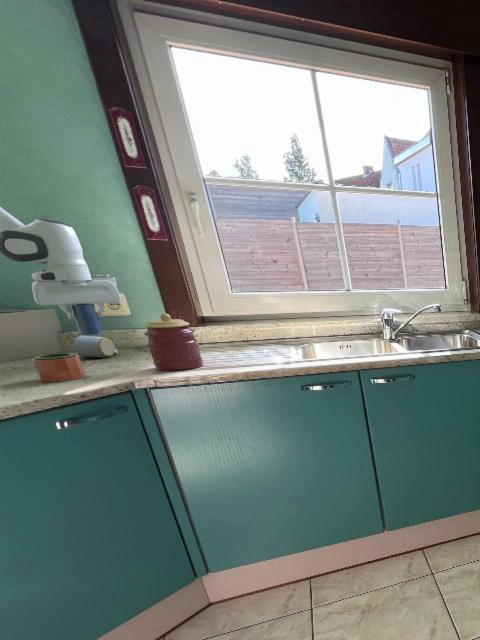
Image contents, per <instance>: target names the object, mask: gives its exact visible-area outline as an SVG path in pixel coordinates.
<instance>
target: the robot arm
mask: <svg viewBox="0 0 480 640" xmlns="http://www.w3.org/2000/svg"><path fill="white" fill-rule="evenodd" d="M0 254H2V255H3V256H4V257H6V258H7V259H9V260H11V261H13V262H18V263H24V264H36V263H37V264H47V265H48V267H49V268H46V269H42V270H38V271H35V272H32V273H31V278H32V279H33V280H34V281H33V282H32V283H31V291H32V297H33V300H34V302H35V304H37V305H39V306H59V308H60V309H61V310H62V311H63V312H64V313H65V314H66V315H67V318H68V319H69V320H75V319H76V317H75V314H74V313H73V312H70V311H69V310H67V309H68V306H70V305H73V304H95V305H96V306H97V307H99V308H98V311H96V313H97V316H98V319H99V318H104V313H103V312H104V310H105V308H106V306H105V304H120V303H121V302H122V296H121V294H120V292H119V290H118V281H117V279H116V278H115V277H114V276H112V275H109V274H105V273H104V274H97V273H96V274H91V271H90V269H89V266H88V263H87V262H86V260H85V258H84V251H83V248H82V245H81V242H80V240H79V237H78V235H77V233H76V231H75V230H74V228H73V227H72V226H71V225H69V224H68V223H66V222H64V221H59V220H53V219H47V218H37V219H35V220H34V221H32V222H31V223H28V224H26V223H24V222H23V221H22V220H20V219H19V218H18V217H16V216H15V215H14V214H12V213H11V212H9V211H8V210H6V209H5V208H3V206H1V205H0ZM67 305H68V306H67Z"/></svg>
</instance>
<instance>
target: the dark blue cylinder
mask: <svg viewBox="0 0 480 640" xmlns="http://www.w3.org/2000/svg"><path fill="white" fill-rule="evenodd" d="M69 306H70V309H71V313H74V314H75V317H76V319H74V320H75V323H76V326H77V329H78V332H79V334H80V336H94V335H101V334H103V333H104V332H103V328H102V326H101V323H100V319H99V318H98V316H97V313H96V312H97V310H96V307H95V305H94V304H70V305H69Z"/></svg>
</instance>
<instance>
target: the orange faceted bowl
mask: <svg viewBox="0 0 480 640" xmlns="http://www.w3.org/2000/svg"><path fill="white" fill-rule="evenodd" d="M31 360H32V362H33V363H32V364H33V365H34V368H35V370H36V372H37V375H38V378H39V381H41V382H42V383H61V382H62V383H63V382H71V381H77V380H81V379H84V378H85V377H87V374H86V372H85V369H84V366H83V363H82V361H81V359H80V355H78V353H72V352H57V353H56V352H55V353H47V354H41V355H36V356H35V357H33V358H31Z"/></svg>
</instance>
